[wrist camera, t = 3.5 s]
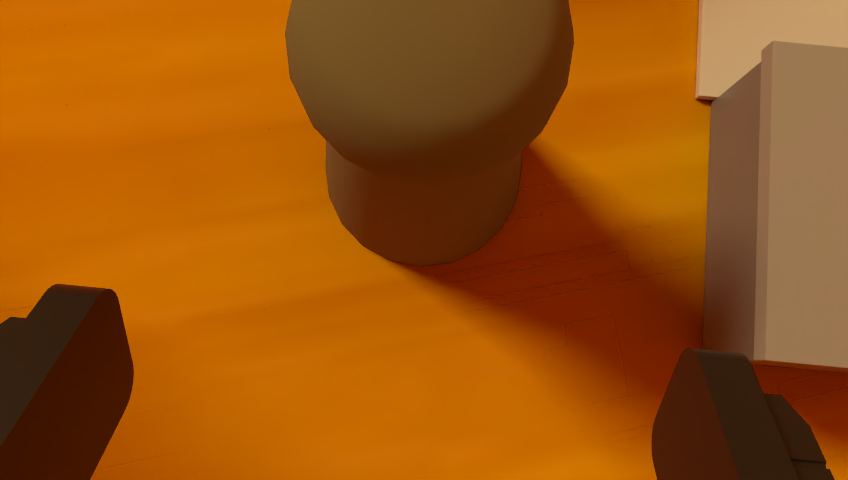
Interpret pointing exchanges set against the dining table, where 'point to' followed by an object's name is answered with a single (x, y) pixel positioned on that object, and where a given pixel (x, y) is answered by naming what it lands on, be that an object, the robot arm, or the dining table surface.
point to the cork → (427, 112)
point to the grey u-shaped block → (776, 180)
